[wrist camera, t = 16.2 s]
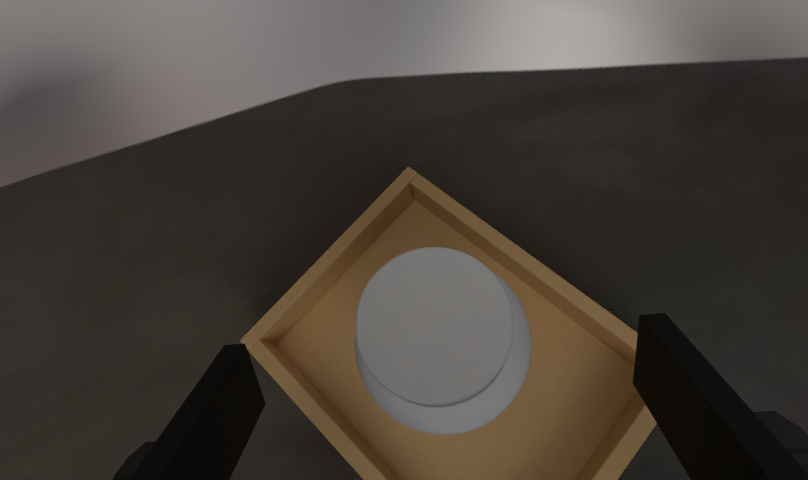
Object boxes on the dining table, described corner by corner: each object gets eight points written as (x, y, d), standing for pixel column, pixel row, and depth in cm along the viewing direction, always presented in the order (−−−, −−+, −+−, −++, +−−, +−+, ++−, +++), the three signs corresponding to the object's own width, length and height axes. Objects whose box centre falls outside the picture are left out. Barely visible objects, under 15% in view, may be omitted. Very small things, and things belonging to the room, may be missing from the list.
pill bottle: (533, 343, 23) (591, 286, 12) (471, 454, 21) (474, 499, 11) (431, 281, 25) (403, 185, 14) (367, 378, 23) (283, 353, 13)
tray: (262, 347, 25) (238, 340, 23) (413, 188, 28) (408, 165, 25) (500, 609, 19) (505, 640, 17) (666, 376, 22) (693, 372, 19)
